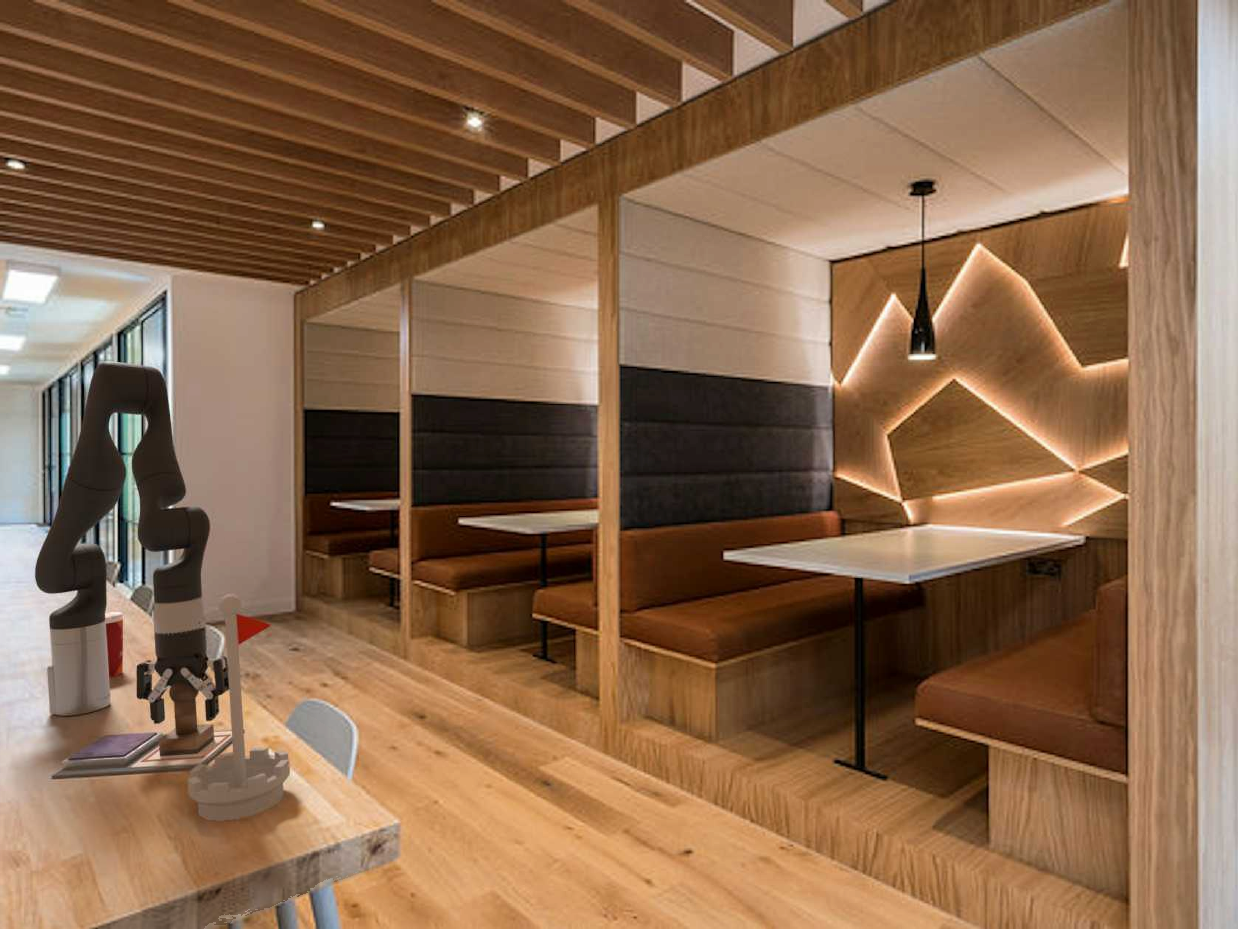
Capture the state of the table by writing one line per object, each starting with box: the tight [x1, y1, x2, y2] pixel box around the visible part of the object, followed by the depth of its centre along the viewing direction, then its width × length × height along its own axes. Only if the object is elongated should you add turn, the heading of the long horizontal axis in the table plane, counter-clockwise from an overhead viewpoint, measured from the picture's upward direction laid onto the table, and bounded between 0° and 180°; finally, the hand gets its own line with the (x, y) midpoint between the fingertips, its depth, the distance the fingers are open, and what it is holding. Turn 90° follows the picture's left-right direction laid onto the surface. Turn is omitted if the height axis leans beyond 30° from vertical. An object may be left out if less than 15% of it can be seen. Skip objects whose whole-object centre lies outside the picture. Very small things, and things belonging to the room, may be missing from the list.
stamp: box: [159, 681, 215, 756], centre depth 130 cm, size 6×6×12 cm
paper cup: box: [105, 611, 125, 678], centre depth 180 cm, size 8×8×14 cm
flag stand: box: [187, 593, 291, 822], centre depth 110 cm, size 13×13×30 cm
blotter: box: [51, 729, 232, 779], centre depth 130 cm, size 23×16×1 cm
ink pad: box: [61, 731, 163, 770], centre depth 130 cm, size 10×11×2 cm
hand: (185, 721), depth 130 cm, fingers open, 8 cm apart
